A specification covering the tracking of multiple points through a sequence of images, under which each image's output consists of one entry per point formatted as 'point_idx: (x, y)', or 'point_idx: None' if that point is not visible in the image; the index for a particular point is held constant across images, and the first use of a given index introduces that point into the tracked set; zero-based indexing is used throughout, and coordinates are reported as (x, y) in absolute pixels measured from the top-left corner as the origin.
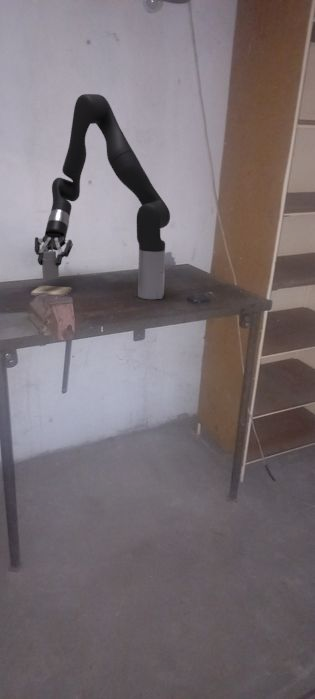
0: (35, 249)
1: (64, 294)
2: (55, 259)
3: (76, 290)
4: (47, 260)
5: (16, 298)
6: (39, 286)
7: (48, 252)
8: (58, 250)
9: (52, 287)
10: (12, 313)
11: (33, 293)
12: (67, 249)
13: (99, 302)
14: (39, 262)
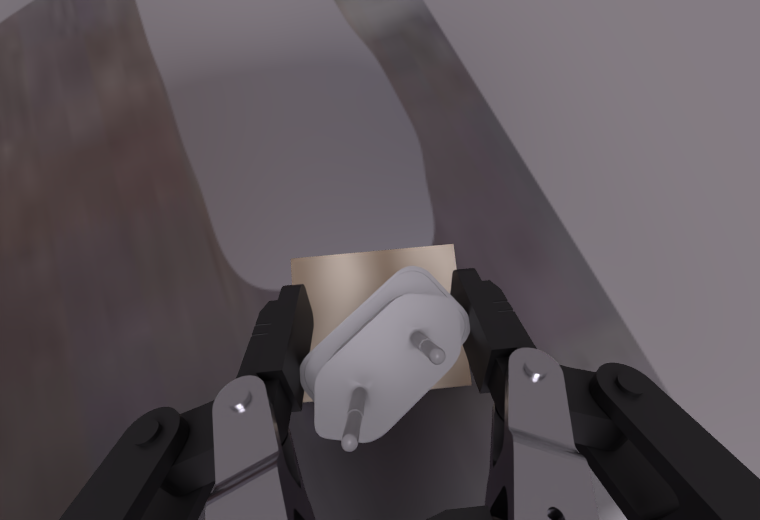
0: (639, 379)
1: (292, 274)
2: (319, 343)
3: None
4: (387, 282)
5: (484, 181)
6: (464, 360)
7: (389, 317)
8: (260, 440)
9: None
10: (402, 11)
11: (440, 246)
12: (83, 495)
13: (114, 241)
14: (464, 270)
